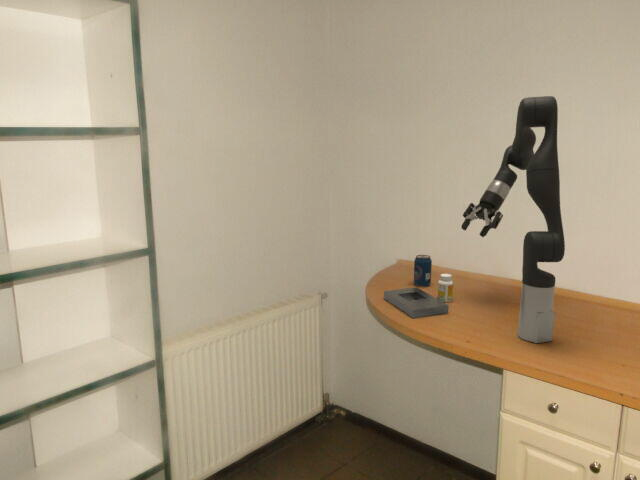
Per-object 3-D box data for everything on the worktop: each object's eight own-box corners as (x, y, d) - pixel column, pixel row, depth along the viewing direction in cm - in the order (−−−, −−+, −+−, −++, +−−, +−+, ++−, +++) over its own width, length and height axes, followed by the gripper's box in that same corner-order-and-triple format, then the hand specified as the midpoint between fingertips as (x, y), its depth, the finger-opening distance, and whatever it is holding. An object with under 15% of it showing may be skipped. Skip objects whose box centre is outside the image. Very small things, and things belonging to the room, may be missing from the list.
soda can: (410, 283, 217) (411, 255, 214) (423, 281, 220) (424, 253, 218) (420, 288, 211) (421, 259, 208) (434, 285, 214) (435, 257, 212)
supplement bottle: (451, 297, 199) (452, 273, 197) (453, 302, 194) (454, 277, 192) (436, 297, 199) (437, 272, 197) (438, 302, 194) (439, 276, 192)
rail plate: (448, 313, 182) (448, 305, 182) (412, 318, 178) (413, 309, 177) (416, 294, 202) (416, 287, 202) (383, 298, 198) (384, 291, 197)
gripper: (475, 185, 194) (452, 222, 193) (506, 194, 182) (482, 233, 181) (484, 196, 198) (462, 232, 197) (515, 204, 187) (492, 243, 186)
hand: (472, 232), depth 189 cm, fingers open, 8 cm apart
